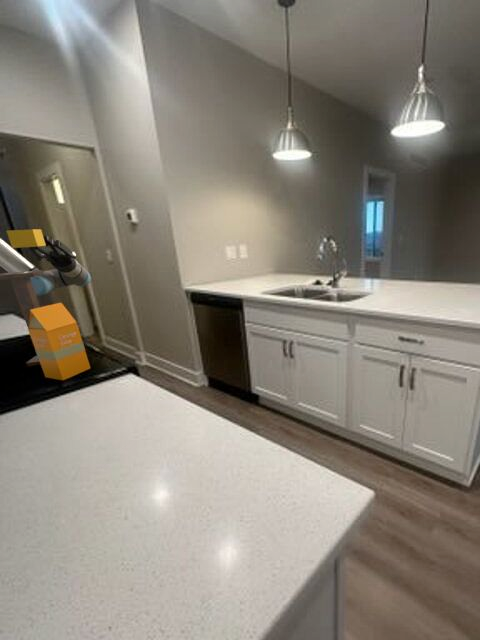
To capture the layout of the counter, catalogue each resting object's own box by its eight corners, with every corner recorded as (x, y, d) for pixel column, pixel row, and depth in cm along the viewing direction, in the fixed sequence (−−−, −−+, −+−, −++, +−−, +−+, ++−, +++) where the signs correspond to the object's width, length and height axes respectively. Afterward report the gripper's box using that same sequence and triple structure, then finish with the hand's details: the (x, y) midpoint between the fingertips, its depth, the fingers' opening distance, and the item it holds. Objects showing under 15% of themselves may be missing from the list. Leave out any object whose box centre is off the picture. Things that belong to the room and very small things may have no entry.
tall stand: (27, 366, 108) (-8, 275, 97) (36, 359, 114) (4, 273, 103) (62, 362, 110) (32, 272, 99) (69, 355, 116) (42, 270, 105)
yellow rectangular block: (12, 247, 106) (6, 230, 104) (33, 245, 119) (28, 230, 117) (37, 246, 108) (32, 229, 106) (56, 244, 121) (51, 229, 119)
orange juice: (44, 377, 99) (20, 309, 91) (73, 365, 106) (52, 301, 99) (63, 380, 96) (39, 310, 88) (91, 368, 103) (71, 302, 96)
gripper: (43, 256, 134) (3, 223, 111) (86, 253, 137) (57, 221, 114) (44, 274, 133) (5, 245, 110) (88, 271, 136) (58, 242, 113)
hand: (31, 233), depth 112 cm, fingers closed on yellow rectangular block, 2 cm apart
